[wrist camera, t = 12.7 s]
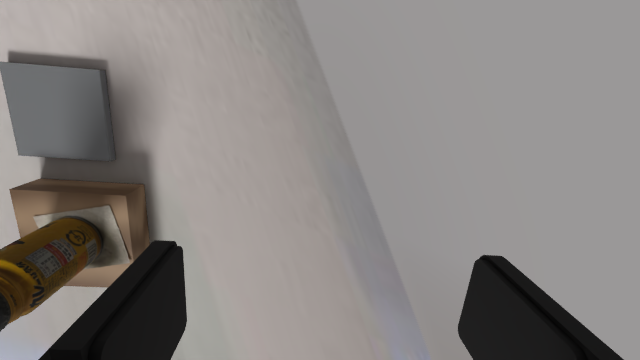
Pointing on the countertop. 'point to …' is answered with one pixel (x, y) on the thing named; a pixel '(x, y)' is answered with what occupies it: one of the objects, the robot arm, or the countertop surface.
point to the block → (85, 195)
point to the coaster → (59, 111)
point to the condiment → (56, 257)
